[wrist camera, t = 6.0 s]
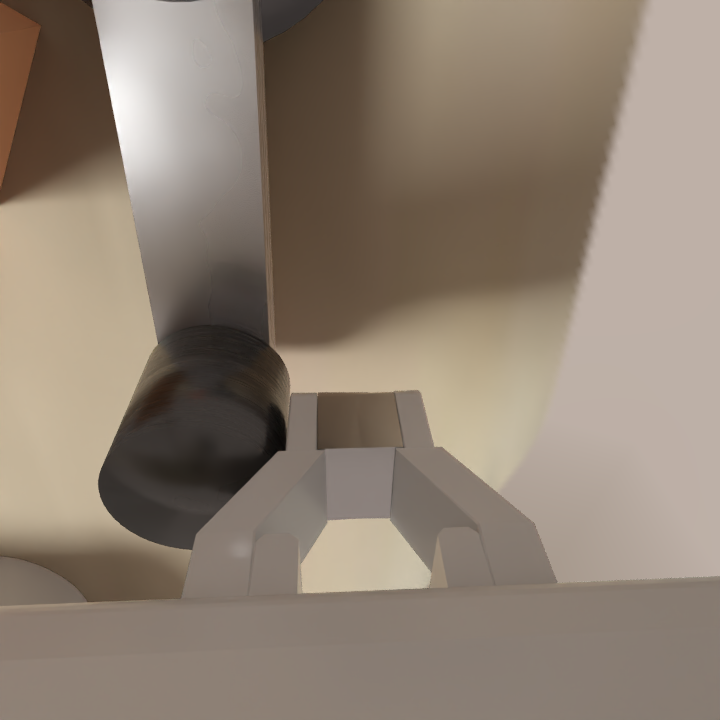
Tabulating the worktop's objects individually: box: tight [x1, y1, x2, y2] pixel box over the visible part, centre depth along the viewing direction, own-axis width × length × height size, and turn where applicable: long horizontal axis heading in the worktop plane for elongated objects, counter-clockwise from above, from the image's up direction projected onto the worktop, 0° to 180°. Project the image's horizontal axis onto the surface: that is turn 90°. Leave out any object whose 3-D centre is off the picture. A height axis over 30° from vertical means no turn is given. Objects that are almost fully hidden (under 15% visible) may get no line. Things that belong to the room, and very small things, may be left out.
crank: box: [92, 0, 290, 550], centre depth 8 cm, size 13×4×4 cm, turn 177°
